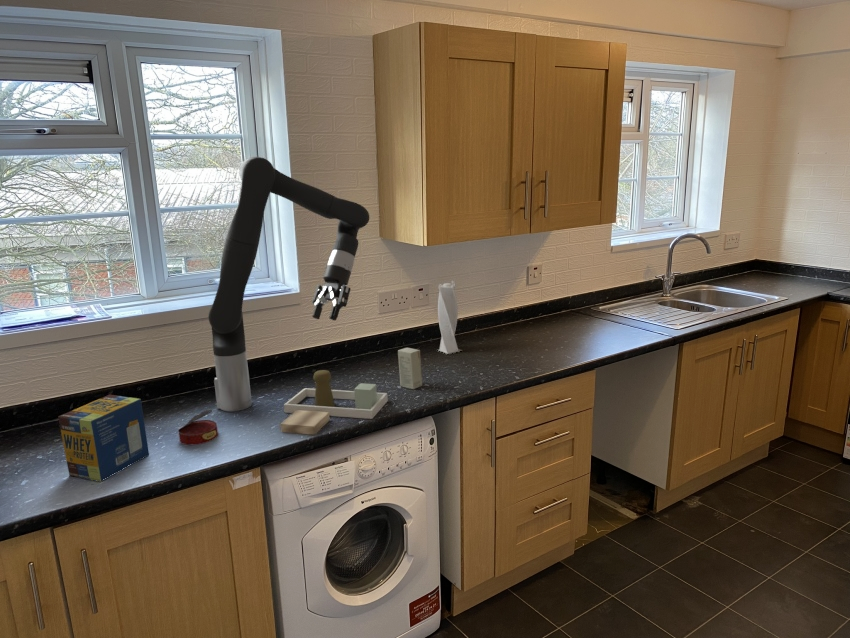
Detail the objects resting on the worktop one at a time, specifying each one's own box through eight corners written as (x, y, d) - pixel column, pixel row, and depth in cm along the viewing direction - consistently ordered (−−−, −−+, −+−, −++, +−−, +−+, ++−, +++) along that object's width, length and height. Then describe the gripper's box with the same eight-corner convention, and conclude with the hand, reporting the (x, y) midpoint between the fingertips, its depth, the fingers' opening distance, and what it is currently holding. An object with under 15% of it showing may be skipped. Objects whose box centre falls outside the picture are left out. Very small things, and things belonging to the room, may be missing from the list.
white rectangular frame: (284, 412, 184) (283, 404, 183) (305, 395, 197) (304, 388, 196) (372, 418, 177) (371, 410, 176) (387, 401, 190) (387, 393, 189)
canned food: (191, 461, 165) (168, 435, 160) (188, 443, 174) (166, 418, 169) (228, 436, 167) (206, 410, 162) (224, 419, 176) (203, 394, 171)
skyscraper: (464, 352, 236) (463, 279, 229) (447, 356, 232) (445, 282, 225) (451, 347, 243) (449, 276, 236) (434, 351, 239) (432, 279, 232)
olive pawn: (325, 400, 192) (322, 366, 189) (338, 404, 188) (336, 370, 185) (310, 406, 187) (307, 372, 185) (323, 411, 184) (320, 375, 181)
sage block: (355, 411, 183) (354, 389, 181) (361, 405, 187) (360, 383, 186) (371, 412, 181) (370, 390, 180) (377, 406, 186) (376, 384, 184)
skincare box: (422, 386, 201) (421, 350, 198) (413, 390, 198) (411, 353, 195) (408, 382, 206) (406, 346, 203) (399, 385, 203) (397, 349, 200)
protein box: (68, 476, 149) (56, 416, 145) (119, 449, 163) (110, 393, 159) (100, 483, 145) (89, 421, 142) (150, 454, 159) (141, 397, 156)
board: (281, 431, 170) (280, 423, 169) (297, 417, 179) (296, 409, 179) (314, 434, 167) (314, 426, 167) (329, 420, 177) (329, 412, 176)
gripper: (315, 263, 190) (300, 314, 187) (344, 262, 180) (328, 315, 177) (334, 272, 195) (319, 321, 192) (363, 272, 185) (348, 324, 182)
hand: (323, 319), depth 184 cm, fingers open, 8 cm apart
